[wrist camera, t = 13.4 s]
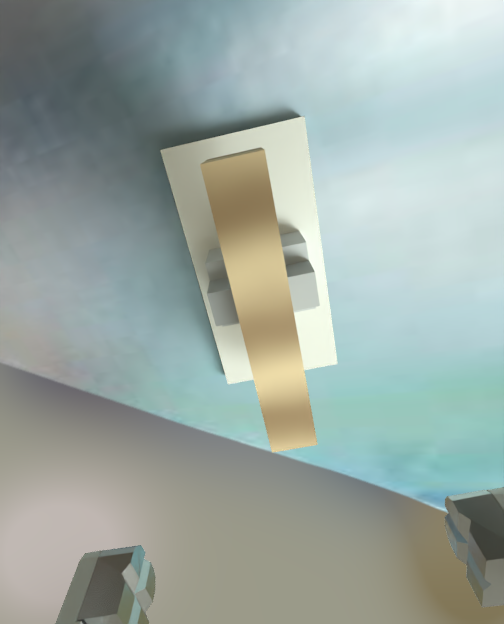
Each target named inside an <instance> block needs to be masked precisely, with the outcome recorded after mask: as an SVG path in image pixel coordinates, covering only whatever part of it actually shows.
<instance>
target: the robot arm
mask: <svg viewBox="0 0 504 624" xmlns="http://www.w3.org/2000/svg"><path fill="white" fill-rule="evenodd" d="M445 507H446V509H447V511H448V514H447V515H446V517H445V528H446V531H447V536H448V539H449V542H450V544H451V547H452V549H453V551H454V553H455V555H456V557H457V558H458V559H459V560H461V561H462V562H463V563H465V564H466V565H467V579H468V581H469V583H470V585H471V587H472V589H473V591H474V593H475V595H476V597H477V598H478V601H479V602H480V604H481V606H482V607H489V606H498V605H504V487H502V488H496V489H491V490H481V491H475V492H470V493H464V494H458V495H453V496H447V497H446V499H445ZM144 556H145V551H144V549H143V548H142V546H141V545H138V546H132V547H125V548H118V549H111V550H103V551H96V552H90V553H85V554H84V556H83V557H82V558H81V560H80V562H79V564H78V567H77V569H76V572H75V575H74V577H73V580H72V582H71V585H70V587H69V590H68V593H67V595H66V598H65V600H64V603H63V605H62V608H61V610H60V613H59V616H58V618H57V621H56V623H55V624H149V620H148V618H147V615H146V613H145V612H146V611H147V610H148V608H149V607H150V605H151V604H152V603H153V599H154V594H155V573H154V568H153V567H152V564H151V562H149V561H147V560H145V559H144Z"/></svg>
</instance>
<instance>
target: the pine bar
mask: <svg viewBox="0 0 504 624" xmlns="http://www.w3.org/2000/svg"><path fill="white" fill-rule="evenodd" d="M200 167H201V171H202V175H203V179H204V183H205V187H206V191H207V195H208V199H209V203H210V207H211V211H212V215H213V219H214V223H215V227H216V231H217V235H218V239H219V243H220V247H221V251H222V254H223V258H224V262H225V266H226V270H227V274H228V278H229V282H230V286H231V290H232V294H233V298H234V302H235V306H236V310H237V314H238V318H239V322H240V326H241V330H242V334H243V338H244V342H245V346H246V350H247V354H248V358H249V362H250V366H251V370H252V374H253V378H254V382H255V386H256V390H257V394H258V398H259V402H260V406H261V410H262V414H263V418H264V422H265V426H266V430H267V434H268V438H269V442H270V446H271V450H272V452H278V451H284V450H289V449H295V448H301V447H307V446H313V445H317V439H316V434H315V428H314V422H313V417H312V411H311V406H310V400H309V395H308V389H307V383H306V378H305V372H304V367H303V361H302V355H301V350H300V344H299V339H298V333H297V328H296V322H295V316H294V311H293V305H292V300H291V294H290V288H289V283H288V277H287V272H286V266H285V261H284V255H283V249H282V244H281V238H280V233H279V227H278V221H277V216H276V210H275V205H274V199H273V194H272V188H271V182H270V177H269V171H268V166H267V160H266V154H265V150H264V149H263V148H261V147H260V148H255V149H251V150H246V151H242V152H238V153H233V154H229V155H225V156H220V157H216V158H212V159H207V160H206V161H204V162H203V163H201V164H200Z"/></svg>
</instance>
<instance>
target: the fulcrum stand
mask: <svg viewBox="0 0 504 624" xmlns="http://www.w3.org/2000/svg"><path fill="white" fill-rule="evenodd" d="M260 147H261V148H263V149H264V150H265V154H266V160H267V166H268V171H269V177H270V182H271V188H272V194H273V199H274V205H275V210H276V216H277V221H278V227H279V233H280V238H281V244H282V249H283V255H284V261H285V266H286V272H287V277H288V283H289V288H290V294H291V300H292V305H293V311H294V316H295V322H296V328H297V333H298V339H299V344H300V350H301V355H302V361H303V367H304V370H308V369H313V368H318V367H324V366H329V365H334V364H337V356H336V349H335V341H334V334H333V326H332V319H331V311H330V304H329V296H328V289H327V282H326V274H325V267H324V259H323V252H322V244H321V237H320V229H319V222H318V214H317V207H316V200H315V192H314V185H313V177H312V170H311V162H310V155H309V147H308V140H307V132H306V125H305V118H304V116H303V117H298V118H294V119H290V120H286V121H281V122H277V123H273V124H269V125H264V126H260V127H256V128H252V129H247V130H243V131H239V132H234V133H230V134H226V135H222V136H217V137H213V138H209V139H205V140H200V141H196V142H192V143H188V144H183V145H179V146H175V147H170V148H166V149H162V150H160V151H161V155H162V158H163V162H164V165H165V168H166V172H167V175H168V179H169V182H170V186H171V189H172V193H173V196H174V199H175V203H176V206H177V210H178V213H179V217H180V220H181V224H182V227H183V230H184V234H185V237H186V241H187V244H188V248H189V251H190V255H191V258H192V261H193V265H194V268H195V272H196V275H197V279H198V282H199V286H200V289H201V293H202V296H203V299H204V303H205V306H206V310H207V313H208V317H209V320H210V324H211V327H212V330H213V334H214V337H215V341H216V344H217V348H218V351H219V355H220V358H221V361H222V365H223V368H224V372H225V375H226V379H227V382H228V384H232V383H238V382H243V381H249V380H254V378H253V374H252V370H251V366H250V362H249V358H248V354H247V350H246V346H245V342H244V338H243V334H242V330H241V326H240V322H239V318H238V314H237V310H236V306H235V302H234V298H233V294H232V290H231V286H230V282H229V278H228V274H227V270H226V266H225V262H224V258H223V254H222V251H221V247H220V243H219V239H218V235H217V231H216V227H215V223H214V219H213V215H212V211H211V207H210V203H209V199H208V195H207V191H206V187H205V183H204V179H203V175H202V171H201V167H200V164H201V163H203V162H204V161H206V160H207V159H212V158H216V157H220V156H225V155H229V154H233V153H238V152H242V151H246V150H251V149H255V148H260Z"/></svg>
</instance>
